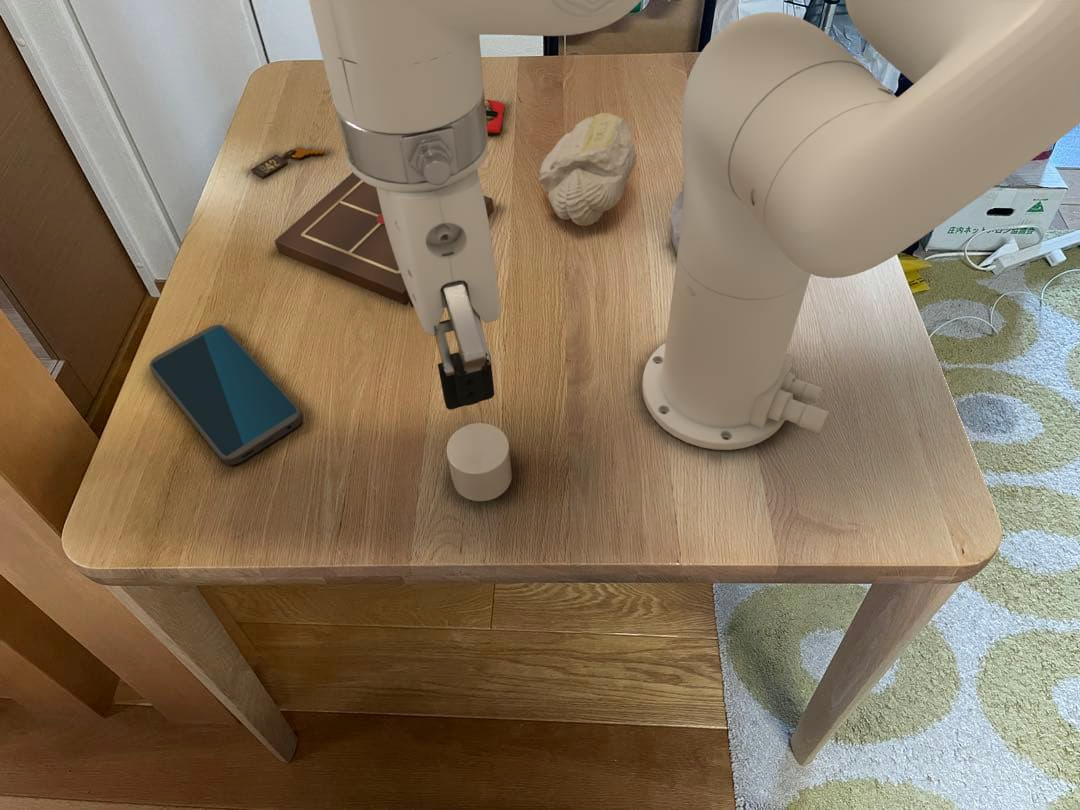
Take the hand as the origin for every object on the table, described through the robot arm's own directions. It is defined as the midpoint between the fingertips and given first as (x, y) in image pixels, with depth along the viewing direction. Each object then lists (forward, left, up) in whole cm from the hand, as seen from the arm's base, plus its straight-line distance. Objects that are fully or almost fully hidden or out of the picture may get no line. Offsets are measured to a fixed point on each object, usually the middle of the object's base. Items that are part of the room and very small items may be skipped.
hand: (450, 348), depth 56 cm
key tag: (+40, -24, -14) cm, 49 cm away
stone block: (-7, -36, -14) cm, 40 cm away
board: (+23, -20, -14) cm, 34 cm away
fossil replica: (+7, -34, -14) cm, 38 cm away
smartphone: (+23, +4, -14) cm, 27 cm away
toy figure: (+30, -40, -14) cm, 51 cm away
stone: (-2, +1, -14) cm, 14 cm away
